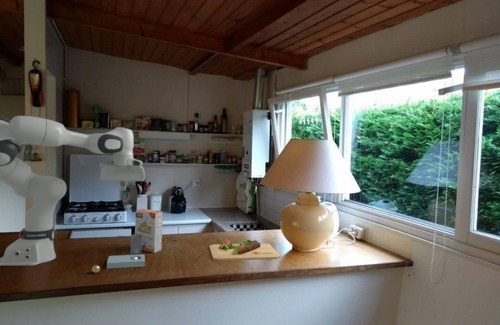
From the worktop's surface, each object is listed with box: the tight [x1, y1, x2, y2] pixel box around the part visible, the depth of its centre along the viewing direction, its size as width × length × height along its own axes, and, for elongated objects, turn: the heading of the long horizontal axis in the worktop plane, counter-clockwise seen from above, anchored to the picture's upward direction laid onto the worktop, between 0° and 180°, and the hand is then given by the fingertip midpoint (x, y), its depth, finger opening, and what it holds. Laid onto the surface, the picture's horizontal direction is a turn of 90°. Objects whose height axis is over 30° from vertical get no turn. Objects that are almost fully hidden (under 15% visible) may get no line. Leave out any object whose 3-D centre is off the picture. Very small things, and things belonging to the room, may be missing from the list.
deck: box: [106, 253, 146, 270], centre depth 158 cm, size 16×10×2 cm, turn 108°
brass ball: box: [91, 264, 101, 274], centre depth 145 cm, size 3×3×3 cm
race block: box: [129, 233, 142, 255], centre depth 167 cm, size 5×6×8 cm
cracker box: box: [134, 208, 164, 254], centre depth 179 cm, size 14×6×21 cm, turn 62°
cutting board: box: [208, 238, 281, 261], centre depth 183 cm, size 35×23×8 cm
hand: (122, 190), depth 163 cm, fingers closed
